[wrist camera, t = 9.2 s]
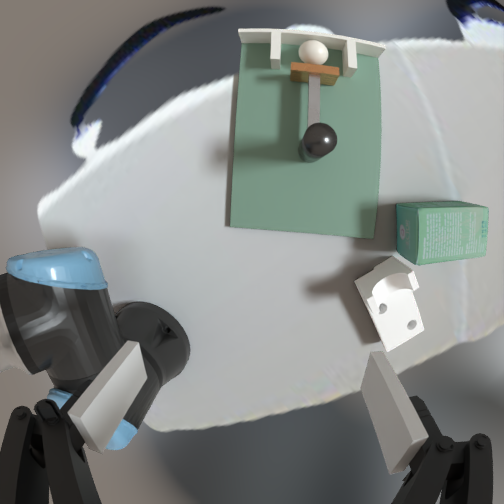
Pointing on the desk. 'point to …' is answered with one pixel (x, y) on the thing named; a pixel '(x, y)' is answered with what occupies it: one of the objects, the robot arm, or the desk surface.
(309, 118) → the small squeegee
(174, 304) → the desk surface
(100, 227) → the desk surface
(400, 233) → the box
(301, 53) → the ball
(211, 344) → the desk surface
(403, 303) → the bracket
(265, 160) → the pitch
